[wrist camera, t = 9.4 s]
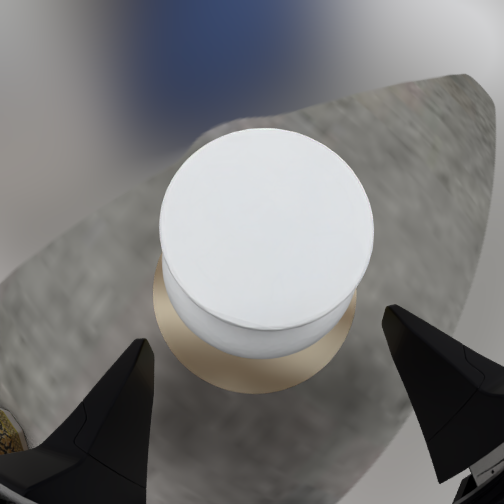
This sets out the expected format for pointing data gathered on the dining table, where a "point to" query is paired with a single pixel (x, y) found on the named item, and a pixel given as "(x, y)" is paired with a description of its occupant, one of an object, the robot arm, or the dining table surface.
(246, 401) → the dining table surface
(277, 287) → the supplement bottle
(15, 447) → the ceramic cup
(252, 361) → the round tan coaster
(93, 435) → the robot arm
